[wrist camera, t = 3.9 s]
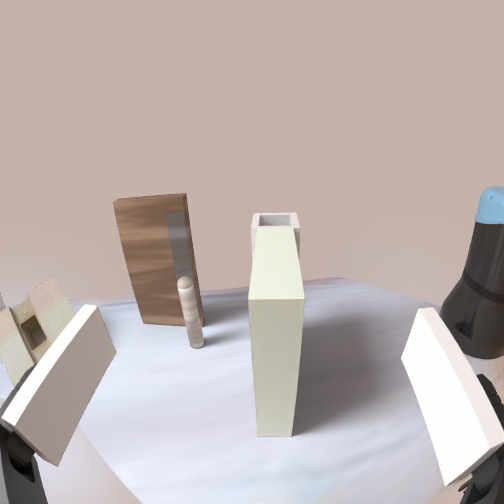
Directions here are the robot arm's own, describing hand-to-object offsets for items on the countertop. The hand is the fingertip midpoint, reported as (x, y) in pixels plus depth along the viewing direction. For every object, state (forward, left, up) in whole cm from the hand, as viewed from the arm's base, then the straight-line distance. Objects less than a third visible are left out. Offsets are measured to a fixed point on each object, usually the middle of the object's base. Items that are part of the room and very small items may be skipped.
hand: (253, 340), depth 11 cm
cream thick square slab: (+4, -14, -21) cm, 25 cm away
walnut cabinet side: (+22, -17, -21) cm, 34 cm away
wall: (+37, -1, -21) cm, 42 cm away
